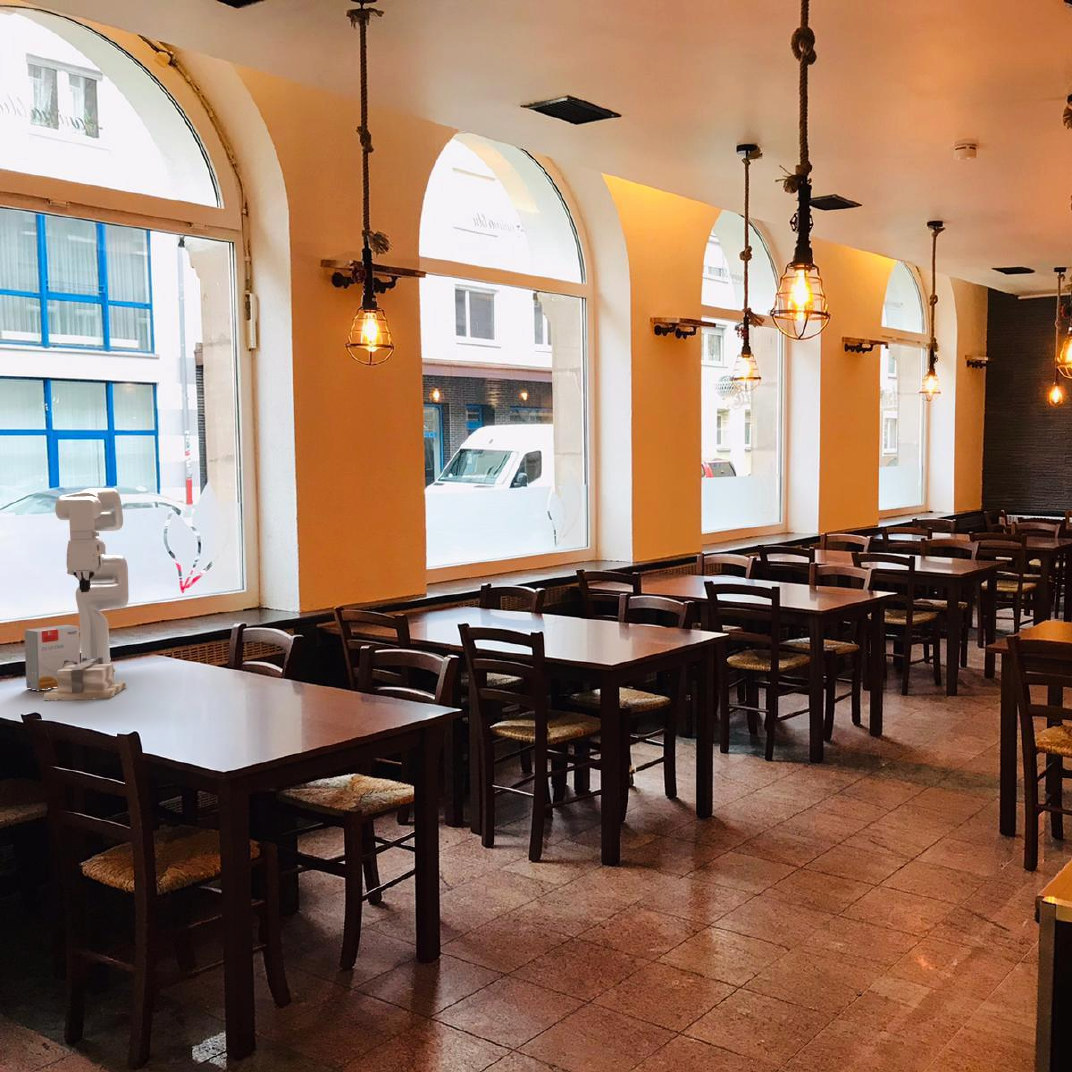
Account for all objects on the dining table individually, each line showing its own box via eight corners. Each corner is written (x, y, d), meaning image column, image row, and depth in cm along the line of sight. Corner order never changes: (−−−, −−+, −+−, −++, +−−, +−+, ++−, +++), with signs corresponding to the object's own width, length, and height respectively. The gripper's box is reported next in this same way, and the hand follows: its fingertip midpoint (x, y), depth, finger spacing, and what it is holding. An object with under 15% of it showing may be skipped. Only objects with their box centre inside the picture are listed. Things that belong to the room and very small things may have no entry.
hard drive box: (38, 692, 368) (35, 631, 366) (25, 689, 372) (22, 629, 371) (82, 684, 380) (79, 625, 379) (69, 681, 385) (66, 623, 383)
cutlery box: (64, 689, 372) (62, 657, 371) (126, 687, 373) (124, 656, 372) (44, 700, 355) (42, 667, 354) (108, 698, 356) (107, 665, 355)
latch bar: (87, 662, 371) (87, 658, 371) (98, 662, 371) (98, 658, 371) (70, 670, 355) (70, 666, 355) (81, 670, 355) (81, 666, 355)
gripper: (109, 534, 373) (112, 590, 375) (63, 535, 373) (66, 591, 374) (101, 536, 366) (104, 592, 367) (54, 537, 365) (57, 593, 366)
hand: (85, 591), depth 370 cm, fingers closed
